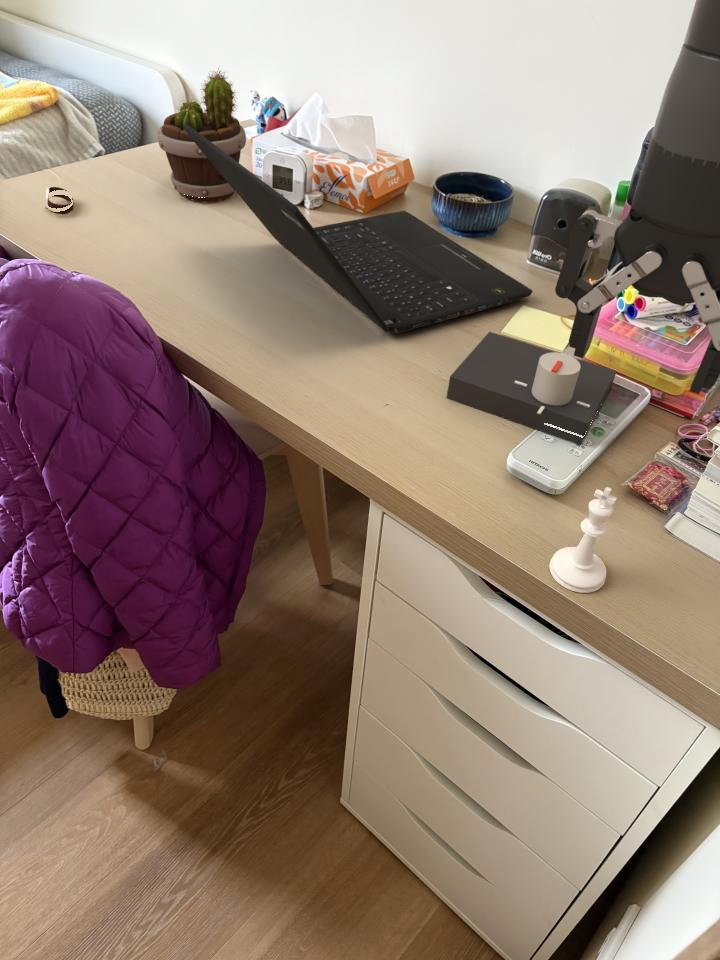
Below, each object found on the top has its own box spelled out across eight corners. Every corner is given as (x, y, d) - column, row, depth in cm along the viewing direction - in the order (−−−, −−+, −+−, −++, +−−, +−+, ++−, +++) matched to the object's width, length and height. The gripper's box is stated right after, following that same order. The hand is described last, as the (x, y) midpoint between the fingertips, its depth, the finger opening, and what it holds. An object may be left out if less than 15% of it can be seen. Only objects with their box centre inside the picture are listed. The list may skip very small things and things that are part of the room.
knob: (539, 378, 81) (547, 345, 78) (576, 390, 80) (586, 357, 77) (525, 397, 78) (534, 363, 75) (564, 410, 77) (574, 376, 74)
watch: (45, 201, 120) (40, 179, 118) (75, 199, 122) (70, 177, 119) (45, 219, 115) (39, 196, 113) (76, 216, 116) (71, 194, 114)
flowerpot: (157, 207, 121) (138, 74, 107) (174, 175, 132) (158, 52, 119) (243, 211, 121) (235, 79, 108) (253, 179, 132) (246, 56, 119)
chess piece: (562, 543, 66) (590, 461, 60) (613, 567, 64) (648, 485, 57) (540, 575, 63) (567, 492, 56) (592, 602, 61) (627, 519, 54)
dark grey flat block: (609, 391, 85) (617, 369, 83) (577, 451, 76) (584, 428, 74) (485, 352, 91) (489, 330, 89) (441, 403, 82) (445, 380, 80)
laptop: (533, 303, 101) (565, 160, 88) (295, 369, 86) (293, 208, 73) (404, 218, 122) (415, 92, 109) (194, 259, 107) (178, 118, 94)
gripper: (583, 131, 42) (529, 364, 53) (848, 181, 37) (729, 427, 48) (615, 104, 47) (560, 322, 58) (853, 145, 42) (745, 375, 53)
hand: (637, 370), depth 53 cm, fingers open, 8 cm apart
